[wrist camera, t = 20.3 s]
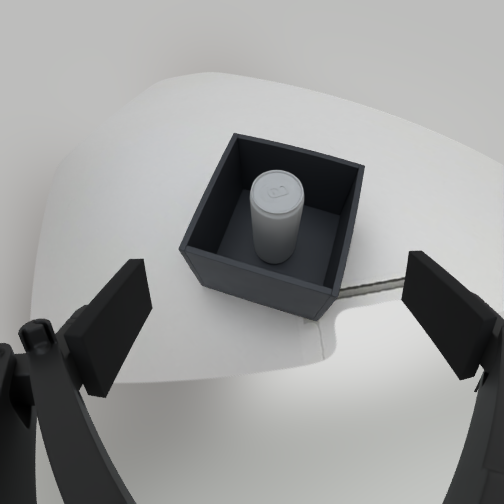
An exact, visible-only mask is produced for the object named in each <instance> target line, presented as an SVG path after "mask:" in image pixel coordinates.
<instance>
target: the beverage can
mask: <svg viewBox="0 0 504 504" xmlns="http://www.w3.org/2000/svg"><path fill="white" fill-rule="evenodd" d="M303 204H304V191H303V186H302V184H301V182H300V181H299V179H298V178H297V177H295V176H294V175H293V174H291V173H289V172H286V171H282V170H271V171H267V172H265V173H262V174H261V175H260V176H258V177H257V178H256V179H255V181H254V182H253V184H252V187H251V191H250V206H251V217H252V228H253V240H254V248H255V252H256V253H257V255H258V256H259V257H260V259H262V260H263V261H265V262H267V263H271V264H278V263H282V262H284V261H286V260H287V259H288V258H289V257H290V256H291V255H292V253H293V252H294V249H295V245H296V240H297V235H298V230H299V225H300V220H301V215H302V209H303Z"/></svg>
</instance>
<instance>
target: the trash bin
mask: <svg viewBox="0 0 504 504" xmlns="http://www.w3.org/2000/svg"><path fill="white" fill-rule="evenodd" d="M364 168H365V166H364V165H361V164H357V163H354V162H350V161H347V160H344V159H340V158H337V157H333V156H330V155H326V154H322V153H319V152H315V151H311V150H307V149H303V148H299V147H295V146H291V145H287V144H283V143H278V142H274V141H270V140H265V139H261V138H256V137H251V136H246V135H241V134H237V133H234V134H233V136H232V138H231V140H230V142H229V144H228V146H227V148H226V149H225V151H224V153H223V155H222V157H221V159H220V161H219V163H218V165H217V167H216V170H215V172H214V174H213V176H212V178H211V180H210V182H209V184H208V186H207V188H206V190H205V192H204V194H203V196H202V199H201V201H200V203H199V205H198V207H197V209H196V211H195V214H194V216H193V218H192V220H191V222H190V224H189V227H188V229H187V231H186V233H185V236H184V238H183V240H182V242H181V244H180V247H179V251H180V252H181V254H182V255H183V257H184V259H185V260H186V262H187V263H188V265H189V266H190V268H191V270H192V271H193V273H194V274H195V276H196V277H197V279H198V280H199V282H200V283H201V285H202V286H205V287H208V288H211V289H214V290H217V291H220V292H223V293H226V294H230V295H233V296H236V297H239V298H242V299H245V300H248V301H252V302H255V303H258V304H261V305H264V306H268V307H271V308H274V309H277V310H281V311H284V312H287V313H291V314H294V315H297V316H301V317H304V318H308V319H311V320H314V321H318V320H319V319H320V318H321V316H322V315H323V314H324V313H325V312H326V311H327V309H328V308H329V307H330V306H331V305H332V303H333V302H334V301H335V300H336V299H337V297H338V295H339V291H340V286H341V282H342V278H343V274H344V270H345V266H346V261H347V257H348V252H349V248H350V243H351V238H352V234H353V229H354V224H355V219H356V214H357V208H358V203H359V198H360V192H361V186H362V181H363V175H364ZM271 170H282V171H286V172H289V173H291V174H293V175H294V176H295V177H297V178H298V179H299V181H300V182H301V184H302V186H303V191H304V204H303V209H302V215H301V220H300V225H299V230H298V235H297V240H296V245H295V249H294V252H293V253H292V255H291V256H290V257H289V258H288V259H287V260H286V261H284V262H282V263H278V264H271V263H267V262H265V261H263V260H262V259H260V257H259V256H258V255H257V253H256V252H255V248H254V240H253V228H252V217H251V206H250V191H251V187H252V184H253V182H254V181H255V179H256V178H257V177H258V176H260V175H261V174H262V173H265V172H267V171H271Z"/></svg>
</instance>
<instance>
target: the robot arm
mask: <svg viewBox="0 0 504 504" xmlns="http://www.w3.org/2000/svg"><path fill="white" fill-rule="evenodd" d="M401 300H402V301H403V302H404V304H405V305H406V306H407V308H408V309H409V310H410V311H411V313H412V314H413V316H414V317H415V318H416V319H417V321H418V322H419V323H420V325H421V326H422V327H423V329H424V330H425V331H426V333H427V334H428V335H429V337H430V338H431V340H432V341H433V342H434V344H435V345H436V347H437V348H438V349H439V351H440V352H441V354H442V355H443V356H444V358H445V359H446V360H447V362H448V364H449V365H450V366H451V368H452V369H453V371H454V372H455V374H456V375H457V376H458V378H459V380H464V379H467V378H471V377H474V376H475V373H476V371H477V369H478V367H479V364H480V365H481V366H482V367H483V369H484V372H483V374H482V376H481V379H480V380H479V383H478V385H477V387H476V389H475V391H474V392H477V390H478V395H477V399H476V404H475V408H474V412H473V416H472V420H471V424H470V427H469V431H468V434H467V438H466V441H465V444H464V448H463V451H462V454H461V457H460V460H459V463H458V466H457V468H456V471H455V474H454V477H453V479H452V482H451V484H450V487H449V490H448V492H447V494H446V497H445V499H444V501H443V504H504V319H503V318H502V317H501V316H500V315H499V314H498V313H497V312H495V311H494V310H493V309H492V308H491V307H490V306H489V305H488V304H487V303H485V302H484V301H483V300H482V299H481V298H480V297H479V296H478V295H476V294H474V293H472V292H470V291H469V290H468V289H467V288H466V287H464V286H463V285H462V284H461V283H460V282H459V281H458V280H456V279H455V278H454V277H453V276H452V275H450V274H449V273H448V272H447V271H446V270H445V269H443V268H442V267H441V266H440V265H439V264H437V263H436V262H435V261H434V260H432V259H431V258H430V257H429V256H428V255H426V254H425V253H424V252H423V251H409V256H408V263H407V269H406V276H405V282H404V288H403V293H402V299H401ZM151 310H152V303H151V298H150V293H149V288H148V282H147V277H146V271H145V265H144V259H129V260H128V261H127V262H126V263H125V264H124V266H123V267H122V268H121V269H120V270H119V271H118V272H117V273H116V274H115V275H114V276H113V278H112V279H111V280H110V281H109V282H108V283H107V284H106V285H105V286H104V288H103V289H102V290H101V291H100V292H99V293H98V294H97V295H96V297H95V298H94V299H93V300H92V301H91V302H90V303H89V305H84V306H83V307H81V308H79V309H78V310H76V311H75V312H74V313H73V315H72V316H71V317H70V319H68V320H67V321H66V323H65V324H64V325H63V326H62V327H61V328H60V330H59V331H58V332H57V333H56V334H55V333H54V330H53V328H52V325H51V323H50V321H49V320H47V319H36V320H32V321H30V322H28V323H26V324H25V325H23V326H22V327H21V328H20V330H19V333H18V335H19V337H20V340H21V342H22V344H23V346H24V349H25V351H26V353H23V354H14V352H13V350H12V348H11V346H10V345H9V344H6V343H0V504H37V501H36V480H35V444H36V423H37V417H38V421H39V425H40V429H41V433H42V437H43V441H44V444H45V448H46V452H47V455H48V458H49V462H50V465H51V468H52V471H53V474H54V477H55V480H56V482H57V485H58V488H59V491H60V493H61V496H62V499H63V501H64V504H136V502H135V501H134V499H133V498H132V496H131V494H130V493H129V491H128V489H127V488H126V486H125V484H124V483H123V481H122V479H121V477H120V476H119V474H118V472H117V470H116V468H115V467H114V465H113V463H112V461H111V459H110V457H109V455H108V453H107V451H106V449H105V447H104V445H103V443H102V441H101V439H100V437H99V435H98V433H97V431H96V429H95V426H94V424H93V422H92V420H91V417H90V415H89V413H88V411H87V408H86V406H85V403H84V401H83V399H82V396H81V394H80V392H79V390H80V388H81V386H82V384H83V385H84V387H85V389H86V391H87V393H88V395H91V396H97V397H103V398H106V396H107V394H108V392H109V390H110V388H111V386H112V384H113V382H114V380H115V378H116V376H117V374H118V372H119V370H120V368H121V366H122V364H123V362H124V361H125V359H126V357H127V355H128V353H129V351H130V349H131V347H132V345H133V343H134V341H135V339H136V338H137V336H138V334H139V332H140V330H141V328H142V326H143V325H144V323H145V321H146V319H147V317H148V315H149V314H150V312H151Z"/></svg>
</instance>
